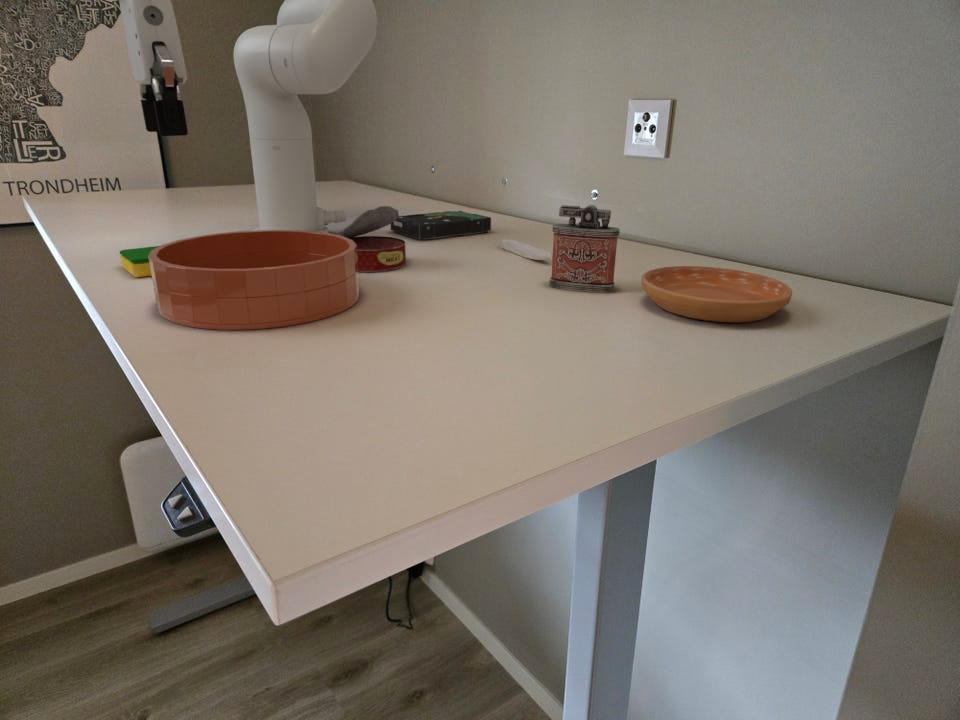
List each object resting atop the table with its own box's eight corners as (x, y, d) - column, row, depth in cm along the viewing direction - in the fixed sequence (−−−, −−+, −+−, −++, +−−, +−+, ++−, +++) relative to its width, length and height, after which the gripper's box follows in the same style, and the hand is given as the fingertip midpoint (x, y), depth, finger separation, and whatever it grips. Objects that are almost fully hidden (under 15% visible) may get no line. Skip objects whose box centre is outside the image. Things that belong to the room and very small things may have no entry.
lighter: (615, 287, 81) (623, 205, 77) (611, 294, 78) (619, 209, 75) (552, 281, 84) (557, 201, 80) (546, 287, 81) (550, 205, 77)
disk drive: (420, 242, 107) (492, 232, 115) (420, 225, 106) (492, 216, 114) (389, 232, 114) (458, 223, 123) (388, 216, 113) (458, 208, 122)
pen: (545, 266, 91) (546, 254, 91) (498, 247, 103) (498, 237, 102) (555, 265, 92) (555, 253, 91) (507, 246, 103) (507, 236, 103)
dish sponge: (243, 263, 90) (241, 246, 89) (135, 278, 82) (131, 259, 81) (226, 254, 95) (223, 238, 95) (122, 267, 87) (118, 249, 86)
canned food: (353, 305, 88) (313, 243, 83) (351, 278, 97) (314, 221, 92) (426, 265, 88) (390, 200, 83) (417, 242, 97) (384, 183, 92)
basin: (319, 268, 88) (315, 224, 86) (390, 308, 71) (388, 254, 69) (143, 291, 77) (134, 240, 75) (180, 344, 60) (170, 281, 58)
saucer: (738, 286, 82) (742, 263, 81) (820, 325, 68) (826, 298, 67) (618, 290, 80) (620, 266, 79) (676, 332, 65) (680, 303, 64)
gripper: (189, -25, 73) (213, 136, 80) (160, -8, 86) (183, 129, 93) (114, -31, 69) (146, 138, 76) (96, -12, 82) (125, 130, 89)
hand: (166, 133), depth 84 cm, fingers open, 9 cm apart
